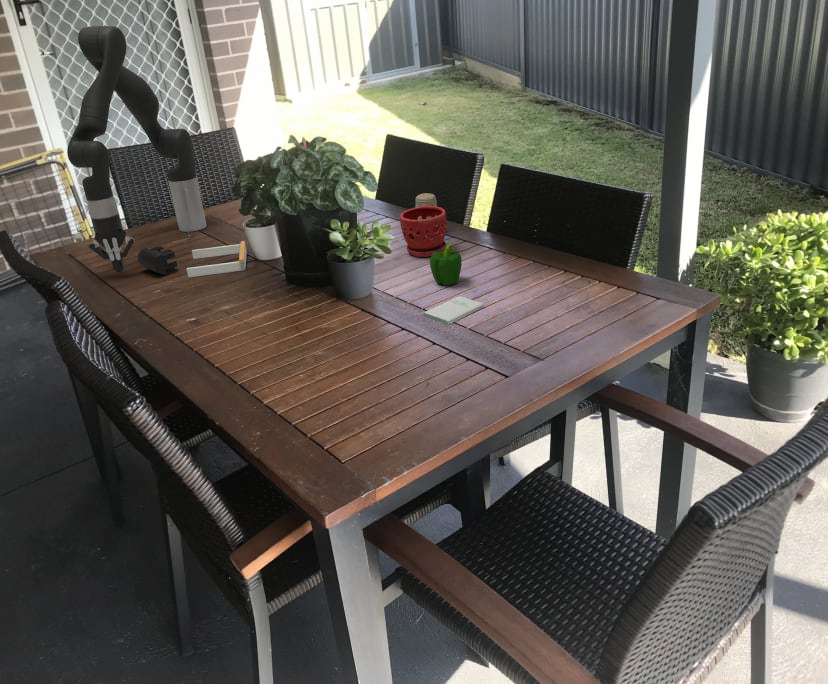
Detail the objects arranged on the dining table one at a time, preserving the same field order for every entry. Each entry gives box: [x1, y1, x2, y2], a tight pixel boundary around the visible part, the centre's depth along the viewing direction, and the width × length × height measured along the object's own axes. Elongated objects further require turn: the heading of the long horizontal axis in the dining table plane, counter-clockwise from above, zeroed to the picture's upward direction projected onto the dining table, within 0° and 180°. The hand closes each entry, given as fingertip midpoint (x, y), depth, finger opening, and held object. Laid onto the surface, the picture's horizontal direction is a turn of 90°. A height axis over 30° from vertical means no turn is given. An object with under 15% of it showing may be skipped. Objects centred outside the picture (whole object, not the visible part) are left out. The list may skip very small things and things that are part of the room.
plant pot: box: [399, 206, 447, 258], centre depth 209 cm, size 13×13×12 cm
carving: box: [414, 192, 438, 220], centre depth 225 cm, size 6×8×12 cm
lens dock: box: [186, 240, 248, 278], centre depth 215 cm, size 17×16×3 cm
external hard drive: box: [422, 295, 484, 326], centre depth 173 cm, size 2×8×12 cm
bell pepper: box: [429, 243, 463, 286], centre depth 187 cm, size 8×8×10 cm
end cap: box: [137, 245, 179, 276], centre depth 212 cm, size 10×7×7 cm
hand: (119, 271), depth 211 cm, fingers closed
